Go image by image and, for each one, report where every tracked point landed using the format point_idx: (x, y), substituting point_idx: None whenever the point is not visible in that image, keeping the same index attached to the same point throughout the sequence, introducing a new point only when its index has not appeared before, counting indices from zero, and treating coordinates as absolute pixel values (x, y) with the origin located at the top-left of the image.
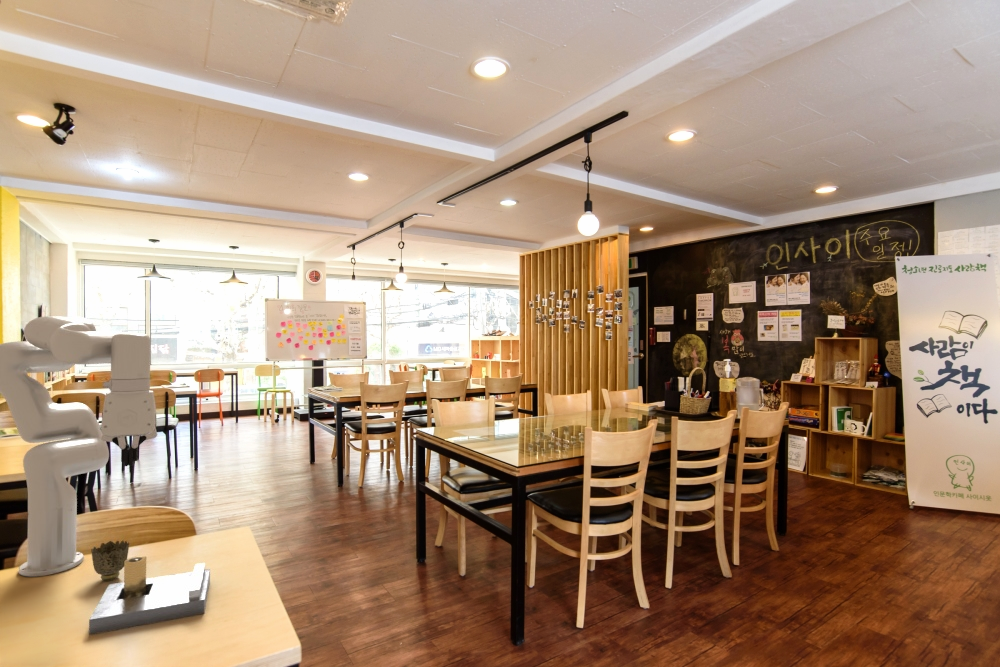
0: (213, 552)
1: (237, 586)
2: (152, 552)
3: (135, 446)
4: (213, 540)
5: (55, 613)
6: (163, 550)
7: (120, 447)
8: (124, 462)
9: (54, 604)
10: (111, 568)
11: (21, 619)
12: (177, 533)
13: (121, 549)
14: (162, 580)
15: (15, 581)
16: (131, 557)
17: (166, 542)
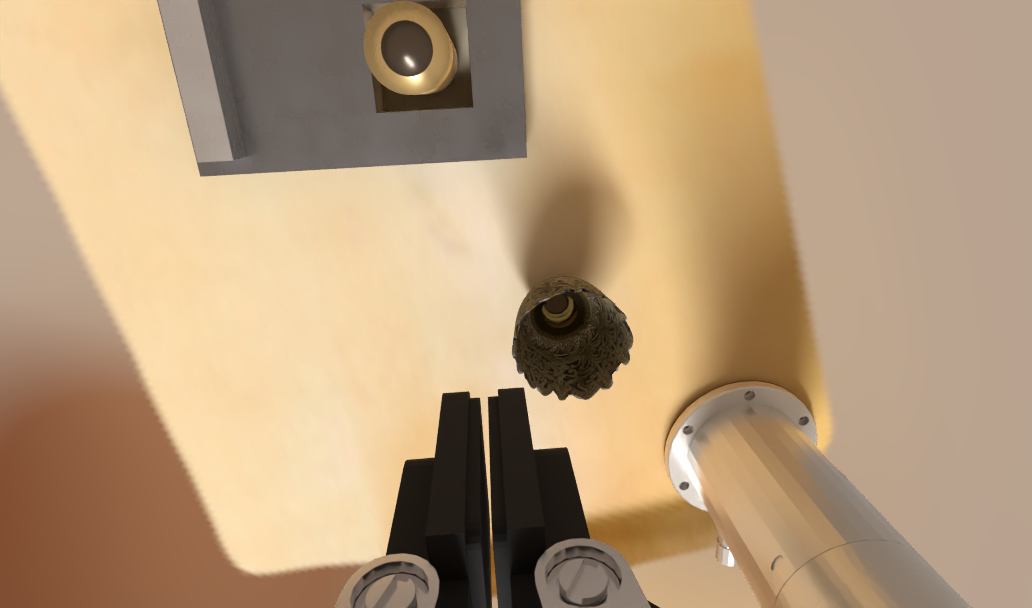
0: (283, 412)
1: (101, 88)
2: None
3: (382, 585)
4: (311, 508)
5: (651, 91)
6: None
7: (611, 572)
8: (521, 403)
9: (669, 163)
10: (550, 279)
11: (734, 84)
12: None
13: (527, 310)
14: (350, 125)
15: (805, 369)
16: (432, 85)
17: None
